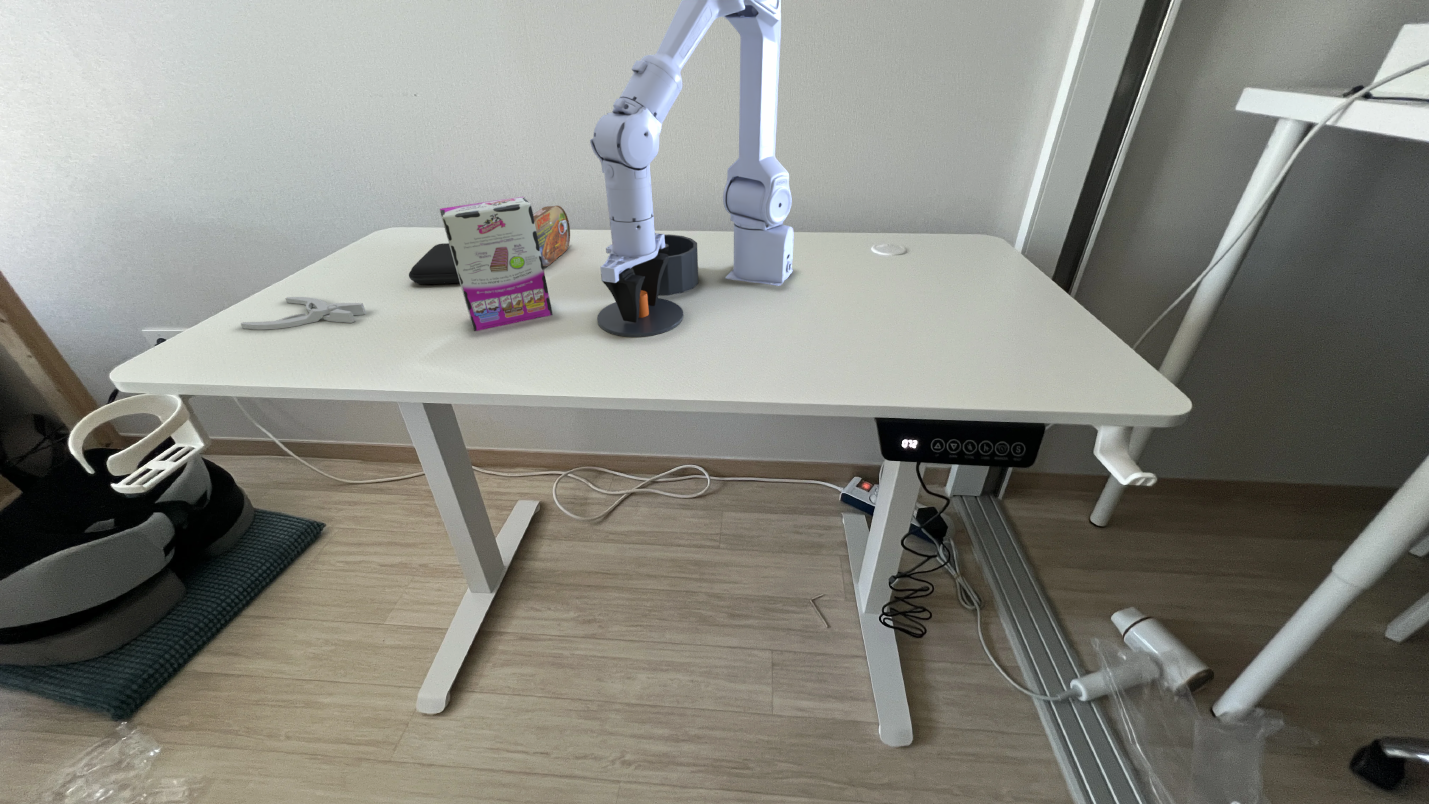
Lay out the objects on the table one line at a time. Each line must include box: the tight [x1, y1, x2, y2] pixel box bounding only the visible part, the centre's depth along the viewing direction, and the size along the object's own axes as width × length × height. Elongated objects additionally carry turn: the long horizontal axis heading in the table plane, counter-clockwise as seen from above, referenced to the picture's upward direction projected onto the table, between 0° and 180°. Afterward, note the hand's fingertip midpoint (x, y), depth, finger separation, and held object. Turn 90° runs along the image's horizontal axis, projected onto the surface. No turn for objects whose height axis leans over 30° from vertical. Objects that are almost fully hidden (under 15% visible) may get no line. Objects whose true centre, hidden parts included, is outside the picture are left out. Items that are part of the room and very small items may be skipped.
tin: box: [533, 205, 571, 267], centre depth 104 cm, size 15×3×8 cm, turn 168°
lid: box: [596, 290, 684, 338], centre depth 83 cm, size 12×12×4 cm
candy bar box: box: [439, 196, 554, 332], centre depth 81 cm, size 11×5×16 cm, turn 117°
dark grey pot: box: [631, 234, 699, 296], centre depth 94 cm, size 11×11×6 cm
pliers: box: [240, 296, 367, 331], centre depth 87 cm, size 10×2×15 cm
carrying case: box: [408, 242, 460, 285], centre depth 101 cm, size 11×3×15 cm
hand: (640, 312), depth 83 cm, fingers open, 5 cm apart
